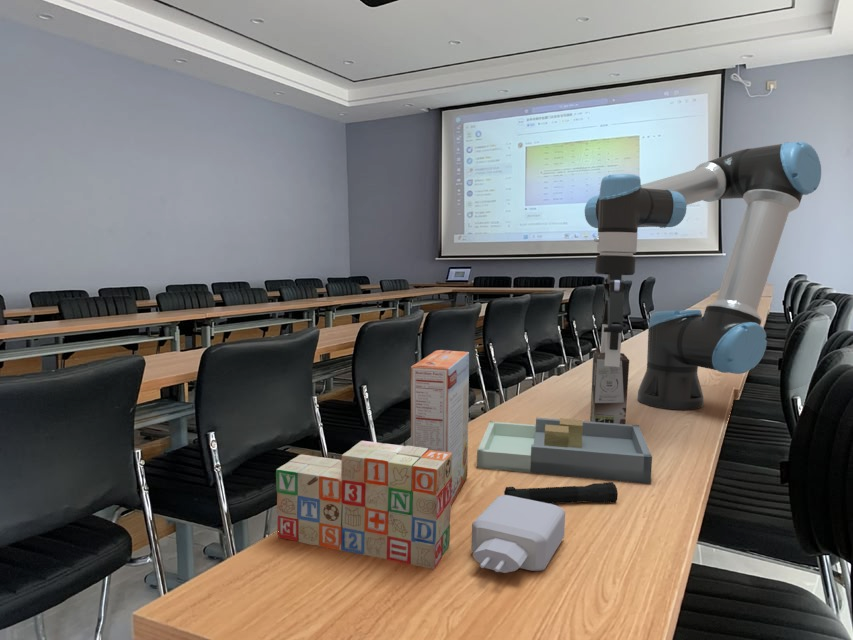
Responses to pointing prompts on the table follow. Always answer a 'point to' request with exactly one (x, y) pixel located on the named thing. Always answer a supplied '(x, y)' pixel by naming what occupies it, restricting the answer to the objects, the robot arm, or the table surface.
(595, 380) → the coffee box
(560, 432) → the tan yellow cube
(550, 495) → the flashlight
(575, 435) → the tan wooden cube
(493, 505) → the charger
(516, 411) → the table surface
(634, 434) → the blue gray tray
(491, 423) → the tray
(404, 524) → the stack of blocks
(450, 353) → the cracker box
